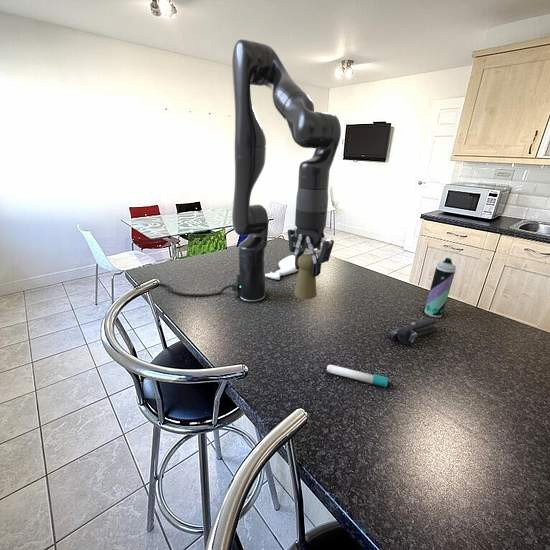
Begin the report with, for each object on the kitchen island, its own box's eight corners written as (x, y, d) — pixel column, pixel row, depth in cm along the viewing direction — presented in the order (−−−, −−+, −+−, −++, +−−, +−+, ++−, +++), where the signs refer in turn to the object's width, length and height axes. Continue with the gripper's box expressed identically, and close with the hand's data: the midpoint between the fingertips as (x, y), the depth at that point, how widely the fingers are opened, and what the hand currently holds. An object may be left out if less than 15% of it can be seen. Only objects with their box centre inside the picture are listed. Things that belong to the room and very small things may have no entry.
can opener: (403, 351, 80) (407, 335, 78) (384, 338, 86) (387, 321, 84) (444, 335, 88) (449, 319, 86) (424, 323, 94) (428, 308, 91)
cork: (315, 300, 76) (319, 261, 71) (292, 297, 77) (294, 258, 73) (317, 290, 81) (320, 253, 77) (295, 287, 82) (297, 251, 78)
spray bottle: (308, 264, 138) (282, 283, 119) (288, 259, 143) (260, 277, 124) (309, 258, 136) (282, 277, 118) (289, 254, 142) (260, 271, 123)
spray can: (421, 309, 102) (435, 255, 94) (436, 308, 102) (451, 255, 94) (430, 317, 97) (445, 261, 89) (445, 317, 97) (462, 261, 89)
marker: (325, 373, 72) (326, 366, 71) (327, 367, 74) (328, 360, 73) (386, 389, 68) (388, 382, 67) (386, 382, 70) (388, 375, 69)
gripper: (280, 204, 72) (278, 267, 79) (323, 214, 62) (317, 285, 69) (301, 201, 77) (298, 261, 84) (345, 210, 67) (337, 277, 74)
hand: (307, 272), depth 76 cm, fingers closed on cork, 5 cm apart
